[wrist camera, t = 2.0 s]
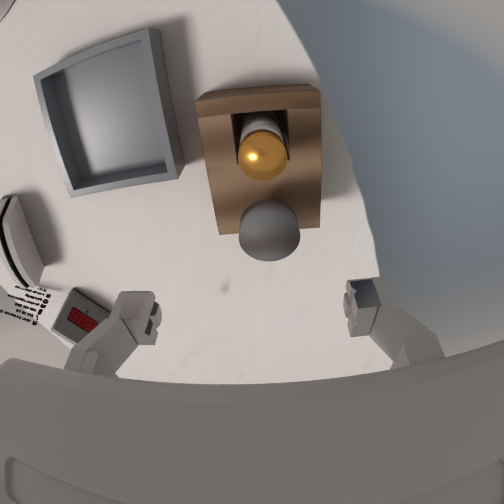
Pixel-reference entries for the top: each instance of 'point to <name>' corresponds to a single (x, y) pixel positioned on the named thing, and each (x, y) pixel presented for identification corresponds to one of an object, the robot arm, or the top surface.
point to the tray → (112, 115)
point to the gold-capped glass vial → (261, 146)
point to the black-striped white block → (18, 245)
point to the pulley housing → (270, 191)
